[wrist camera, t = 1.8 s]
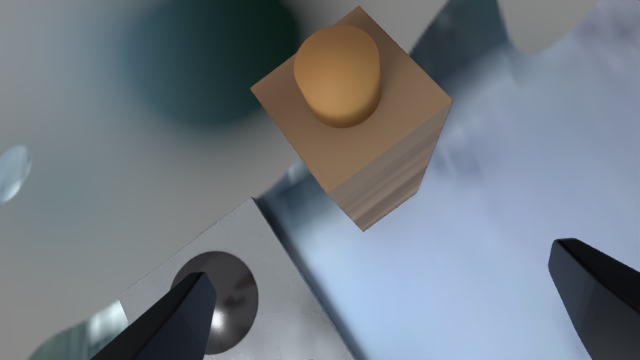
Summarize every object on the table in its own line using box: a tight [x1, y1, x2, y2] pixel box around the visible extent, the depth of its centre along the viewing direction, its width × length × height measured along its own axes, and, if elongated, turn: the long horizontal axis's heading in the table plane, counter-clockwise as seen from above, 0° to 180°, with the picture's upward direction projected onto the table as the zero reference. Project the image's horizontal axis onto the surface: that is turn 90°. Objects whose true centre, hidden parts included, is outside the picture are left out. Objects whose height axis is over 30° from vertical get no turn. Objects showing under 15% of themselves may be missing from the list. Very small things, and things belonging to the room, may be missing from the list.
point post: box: [250, 6, 453, 232], centre depth 14 cm, size 4×4×14 cm
